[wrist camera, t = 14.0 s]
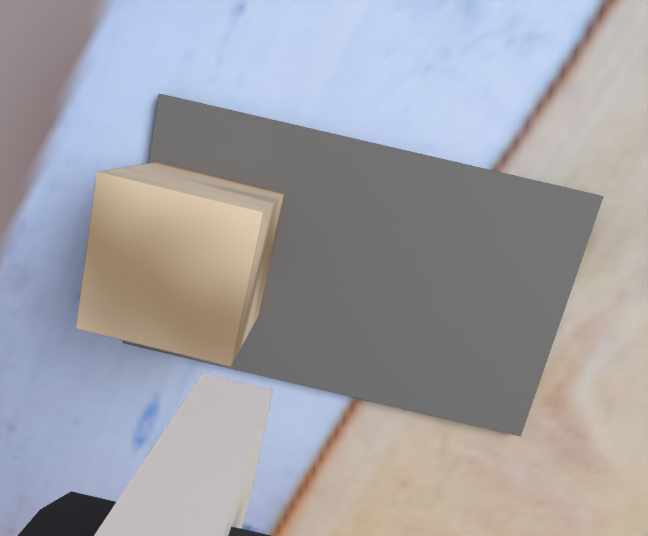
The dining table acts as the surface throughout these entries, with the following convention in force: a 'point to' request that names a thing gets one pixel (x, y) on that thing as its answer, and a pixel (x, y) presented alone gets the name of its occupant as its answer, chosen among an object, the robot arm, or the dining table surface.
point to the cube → (177, 259)
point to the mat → (394, 265)
